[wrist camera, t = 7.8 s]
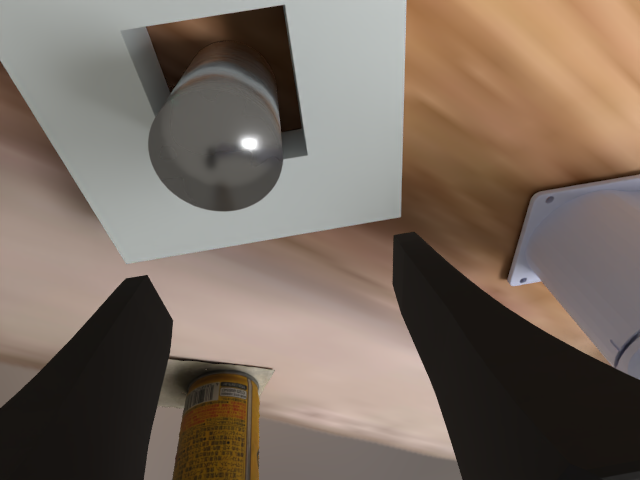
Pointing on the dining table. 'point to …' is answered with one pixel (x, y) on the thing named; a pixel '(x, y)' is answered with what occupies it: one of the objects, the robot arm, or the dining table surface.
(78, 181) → the socket
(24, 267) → the dining table surface
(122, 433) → the robot arm
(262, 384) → the condiment
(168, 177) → the peg
